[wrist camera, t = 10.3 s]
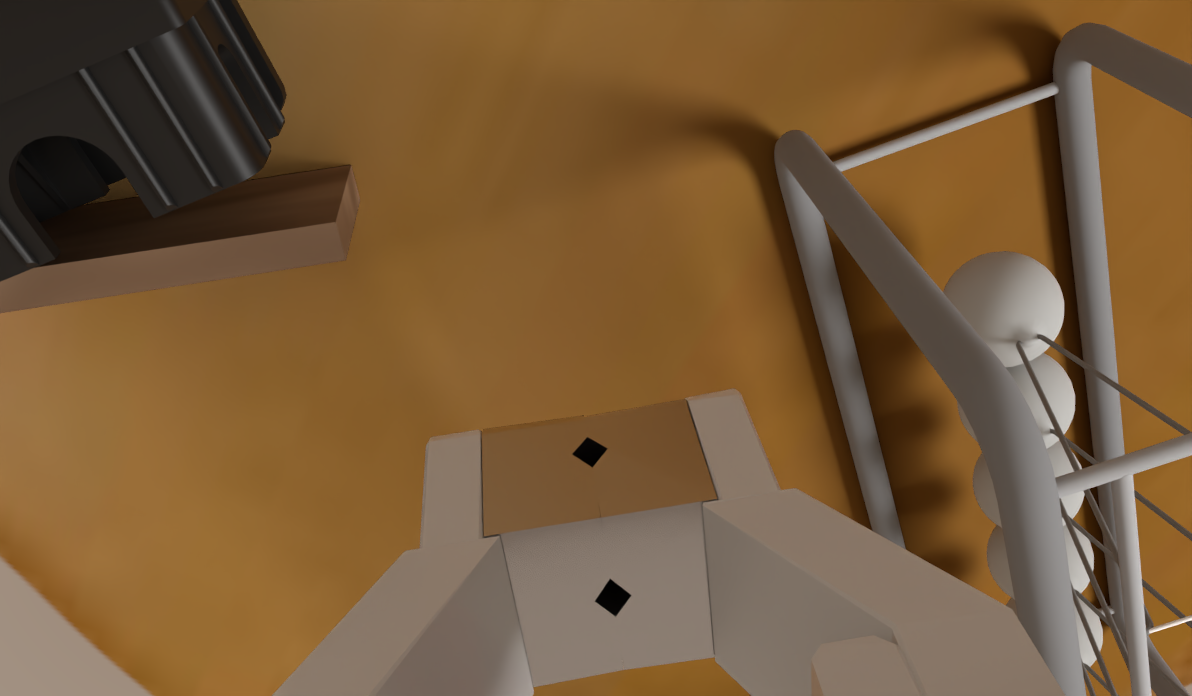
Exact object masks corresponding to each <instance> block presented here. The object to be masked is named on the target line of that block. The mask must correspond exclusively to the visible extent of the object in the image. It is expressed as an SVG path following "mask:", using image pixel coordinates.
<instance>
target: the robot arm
mask: <svg viewBox="0 0 1192 696" xmlns="http://www.w3.org/2000/svg"><path fill="white" fill-rule="evenodd" d="M713 657H715V661H716V662H717V663H718V664H719V665H720V666H721V667H722V668H723V669H724V670H725V671H726V672H727V673H728V674H729V675H730V676H731V677H732V678H733V679H735V680H736V681H737V682H738V683H739V684H740V685H741V686H742V687H743V688H744V689H745V690H746V691H747V692H748V693H749V694H750V695H751V696H1065V694H1064V693H1063V691H1062V689H1061V688H1060V686H1059V684H1058V683H1057V681H1056V680H1055V678H1054V676H1053V675H1052V673H1051V671H1050V670H1049V668H1048V667H1047V665H1046V663H1045V662H1044V660H1043V658H1042V657H1041V655H1040V654H1039V652H1038V650H1037V649H1036V647H1035V645H1034V644H1033V642H1032V641H1031V639H1030V637H1029V636H1028V634H1027V632H1026V631H1025V629H1024V628H1023V626H1022V624H1021V623H1020V621H1019V619H1018V618H1017V616H1016V615H1015V613H1014V611H1013V610H1012V609H1011V608H1009V607H1007V606H1005V605H1004V604H1002V603H1000V602H998V601H996V600H995V599H993V598H991V597H989V596H988V595H986V594H984V593H982V592H980V591H979V590H977V589H975V588H973V587H971V586H970V585H968V584H966V583H964V582H963V581H961V580H959V579H957V578H955V577H954V576H952V575H950V574H948V573H946V572H945V571H943V570H941V569H939V568H938V567H936V566H934V565H932V564H930V563H929V562H927V561H925V560H923V559H921V558H920V557H918V556H916V555H914V554H913V553H911V552H909V551H907V550H905V549H904V548H902V547H900V546H898V545H896V544H895V543H893V542H891V541H889V540H888V539H886V538H884V537H882V536H880V535H879V534H877V533H875V532H873V531H871V530H870V529H868V528H866V527H864V526H863V525H861V524H859V523H857V522H855V521H854V520H852V519H850V518H848V517H847V516H845V515H843V514H841V513H839V512H838V511H836V510H834V509H832V508H830V507H829V506H827V505H825V504H823V503H822V502H820V501H818V500H816V499H814V498H813V497H811V496H809V495H807V494H805V493H804V492H802V491H800V490H798V489H796V488H794V489H787V490H780V487H779V485H778V482H777V480H776V478H775V475H774V473H773V470H772V468H771V466H770V463H769V461H768V458H767V456H766V454H765V451H764V449H763V446H762V444H761V441H760V439H759V437H758V434H757V432H756V429H755V427H754V425H753V422H752V420H751V417H750V415H749V413H748V410H747V408H746V405H745V403H744V401H743V398H742V396H741V393H740V392H738V391H737V390H735V389H729V390H724V391H719V392H714V393H708V394H703V395H698V396H693V397H687V398H685V399H682V400H677V401H671V402H665V403H659V404H654V405H648V406H642V407H636V408H631V409H625V410H619V411H613V412H608V413H602V414H596V415H590V416H584V415H582V416H575V417H568V418H560V419H553V420H546V421H538V422H531V423H524V424H517V425H509V426H502V427H495V428H487V429H483V431H480V430H473V431H467V432H460V433H454V434H448V435H442V436H435V437H431V438H430V440H429V441H428V443H427V445H426V455H425V471H424V488H423V504H422V520H421V537H420V549H414V550H408V551H405V552H403V553H402V554H401V556H400V557H399V558H398V559H397V560H396V561H395V562H394V563H393V564H392V565H391V566H390V568H389V569H388V570H387V571H386V572H385V573H384V574H383V575H382V576H381V577H380V578H379V580H378V581H377V582H376V583H375V584H374V585H373V586H372V587H371V588H370V589H369V590H368V592H367V593H366V594H365V595H364V596H363V597H362V598H361V599H360V600H359V601H358V602H357V603H356V605H355V606H354V607H353V608H352V609H351V610H350V611H349V612H348V613H347V614H346V615H345V617H344V618H343V619H342V620H341V621H340V622H339V623H338V624H337V625H336V626H335V627H334V629H333V630H332V631H331V632H330V633H329V634H328V635H327V636H326V637H325V638H324V639H323V641H322V642H321V643H320V644H319V645H318V646H317V647H316V648H315V649H314V650H313V651H312V653H311V654H310V655H309V656H308V657H307V658H306V659H305V660H304V661H303V662H302V663H301V665H300V666H299V667H298V668H297V669H296V670H295V671H294V672H293V673H292V674H291V675H290V677H289V678H288V679H287V680H286V681H285V682H284V683H283V684H282V685H281V686H280V687H279V689H278V690H277V691H276V692H275V693H274V694H273V695H272V696H532V695H533V694H534V690H533V687H537V686H542V685H548V684H553V683H558V682H563V681H568V680H573V679H579V678H584V677H589V676H594V675H599V674H604V673H610V672H615V671H620V670H626V669H633V668H641V667H648V666H655V665H662V664H670V663H677V662H684V661H691V660H699V659H706V658H713ZM623 666H624V669H623Z"/></svg>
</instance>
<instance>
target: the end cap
mask: <svg viewBox="0 0 1192 696" xmlns="http://www.w3.org/2000/svg"><path fill="white" fill-rule="evenodd" d="M286 96H287V95H286V92H285V88H284V85H283V83H282V81H281V79H280V78H279V76H278V74H277V72H276V70H275V69H274V67H273V65H272V63H271V61H270V59H269V58H268V56H267V54H266V52H265V50H264V49H263V47H262V45H261V43H260V41H259V40H258V38H257V36H256V34H255V32H254V30H253V29H252V27H251V25H250V23H249V21H248V20H247V18H246V16H245V14H244V12H243V11H242V9H241V7H240V5H239V3H238V1H237V0H0V282H1V281H3V280H6V279H8V278H11V277H13V276H15V275H18V274H20V273H23V272H25V271H28V270H30V269H32V268H35V267H37V266H40V265H42V264H45V263H47V262H49V261H52V260H54V259H56V258H57V256H58V255H59V254H60V253H61V251H60V250H59V248H58V247H57V245H56V244H55V243H54V241H53V240H52V239H51V237H50V236H49V235H48V233H47V232H46V231H45V229H44V228H43V226H42V225H41V224H40V222H43V221H45V220H47V219H50V218H52V217H55V216H57V215H59V214H62V213H64V212H67V211H69V210H71V209H74V208H76V207H79V206H81V205H83V204H86V203H88V202H91V201H93V200H95V199H98V198H100V197H103V196H105V195H106V194H107V193H108V192H109V190H110V189H109V187H108V186H107V185H110V184H112V183H114V182H117V181H119V180H122V179H124V178H126V177H127V179H128V180H129V182H130V183H131V185H132V186H133V188H134V189H135V191H136V192H137V194H138V195H139V197H140V198H141V200H142V201H143V203H144V204H145V206H146V207H147V209H148V210H149V212H150V213H151V215H152V216H153V218H156V217H158V216H161V215H163V214H166V213H168V212H170V211H173V210H175V209H178V208H180V207H183V206H185V205H187V204H190V203H192V202H195V201H197V200H200V199H202V198H204V197H207V196H209V195H212V194H214V193H216V192H219V191H221V190H224V189H226V188H229V187H231V186H233V185H236V184H238V183H240V182H243V181H245V180H246V179H248V178H250V177H252V176H253V175H255V174H256V173H258V172H259V171H260V170H261V169H262V168H263V167H264V165H265V163H266V161H267V159H268V156H269V154H270V152H271V150H270V149H271V144H270V142H269V141H268V139H270V138H273V137H275V136H278V135H279V133H280V131H281V129H282V127H283V125H284V123H285V120H284V116H283V115H282V113H281V111H280V110H282V108H283V106H284V103H285V99H286Z"/></svg>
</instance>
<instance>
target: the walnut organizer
mask: <svg viewBox="0 0 1192 696" xmlns="http://www.w3.org/2000/svg"><path fill="white" fill-rule="evenodd" d="M359 203H360V197H359V193H358V190H357V186H356V182H355V178H354V174H353V170H352V166H351V165H348V166H341V167H334V168H328V169H321V170H314V171H308V172H301V173H294V174H288V175H281V176H275V177H268V178H261V179H255V180H248V181H243V182H240V183H238V184H236V185H233V186H231V187H229V188H226V189H224V190H221V191H219V192H216V193H214V194H212V195H209V196H207V197H204V198H202V199H200V200H197V201H195V202H192V203H190V204H187V205H185V206H183V207H180V208H178V209H175V210H173V211H170V212H168V213H166V214H163V215H161V216H158V217H156V218H153V216H152V215H151V213H150V212H149V210H148V209H147V207H146V206H145V204H144V203H143V201H142V200H141V198H140V197H135V198H128V199H122V200H115V201H108V202H102V203H95V204H88V205H82V206H79V207H76V208H74V209H71V210H69V211H67V212H64V213H62V214H59V215H57V216H55V217H52V218H50V219H47V220H45V221H43V222H40V224H41V225H42V226H43V228H44V229H45V231H46V232H47V233H48V235H49V236H50V237H51V239H52V240H53V241H54V243H55V244H56V245H57V247H58V248H59V250H60V251H61V253H60V254H59V255H58V256H57V258H56V259H54V260H52V261H49V262H47V263H45V264H42V265H40V266H37V267H35V268H32V269H30V270H28V271H25V272H23V273H20V274H18V275H15V276H13V277H11V278H8V279H6V280H3V281H1V282H0V313H4V312H11V311H17V310H24V309H30V308H37V307H44V306H50V305H57V304H63V303H70V302H76V301H83V300H89V299H96V298H102V297H109V296H115V295H122V294H129V293H135V292H142V291H148V290H155V289H161V288H168V287H174V286H181V285H187V284H194V283H200V282H207V281H214V280H220V279H227V278H233V277H240V276H246V275H253V274H259V273H266V272H272V271H279V270H285V269H292V268H299V267H305V266H312V265H318V264H325V263H331V262H338V261H344V260H346V258H347V254H348V250H349V245H350V241H351V237H352V232H353V228H354V224H355V220H356V215H357V211H358V207H359Z"/></svg>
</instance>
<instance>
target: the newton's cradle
mask: <svg viewBox="0 0 1192 696" xmlns="http://www.w3.org/2000/svg"><path fill="white" fill-rule="evenodd" d="M1091 65H1093V66H1095V67H1097V68H1099V69H1101V70H1102V71H1104V72H1106V73H1108V74H1110V75H1112V76H1114V77H1116V78H1117V79H1119V80H1121V81H1123V82H1125V83H1127V84H1129V85H1131V86H1132V87H1134V88H1136V89H1138V90H1140V91H1142V92H1144V93H1146V94H1147V95H1149V96H1151V97H1153V98H1155V99H1157V100H1159V101H1161V102H1163V103H1164V104H1166V105H1168V106H1170V107H1172V108H1174V109H1176V110H1178V111H1179V112H1181V113H1183V114H1185V115H1187V116H1189V117H1191V118H1192V65H1191V64H1189V63H1186V62H1184V61H1182V60H1180V59H1178V58H1176V57H1173V56H1171V55H1169V54H1167V53H1165V52H1162V51H1160V50H1158V49H1156V48H1154V47H1152V46H1149V45H1147V44H1145V43H1143V42H1141V41H1138V40H1136V39H1134V38H1132V37H1130V36H1128V35H1125V34H1123V33H1121V32H1119V31H1117V30H1115V29H1112V28H1110V27H1108V26H1106V25H1100V24H1095V23H1084V24H1081V25H1079V26H1077V27H1076V28H1074V29H1072V30H1070V31H1069V32H1067V33H1066V34H1065V35H1064V37H1063V38H1062V40H1061V42H1060V44H1059V46H1058V47H1057V49H1056V52H1055V58H1054V64H1053V82H1052V83H1050V84H1047V85H1044V86H1041V87H1039V88H1036V89H1033V90H1030V91H1028V92H1025V93H1022V94H1019V95H1017V96H1014V97H1011V98H1008V99H1005V100H1003V101H1000V102H997V103H994V104H992V105H989V106H986V107H983V108H981V109H978V110H975V111H972V112H969V113H967V114H964V115H961V116H958V117H956V118H953V119H950V120H947V121H945V122H942V123H939V124H936V125H934V126H931V127H928V128H925V129H922V130H920V131H917V132H914V133H911V134H909V135H906V136H903V137H900V138H898V139H895V140H892V141H889V142H887V143H884V144H881V145H878V146H875V147H873V148H870V149H867V150H864V151H862V152H859V153H856V154H853V155H851V156H848V157H845V158H842V159H840V160H837V161H834V162H832V161H831V160H830V159H829V157H828V156H827V155H826V154H825V153H824V152H823V150H822V149H821V148H820V147H819V146H818V144H817V143H816V142H815V141H814V140H813V139H812V138H811V137H810V136H809V135H807V134H806V133H804V132H803V131H800V130H792V131H788V132H786V133H785V134H784V135H782V136H781V137H780V138H779V139H778V141H777V142H776V145H775V151H774V160H775V166H776V172H777V176H778V181H779V185H780V189H781V192H782V196H783V200H784V204H785V207H786V211H787V215H788V218H789V222H790V226H791V230H792V233H793V237H794V241H795V244H796V248H797V252H798V256H799V259H800V263H801V267H802V271H803V274H804V278H805V282H806V285H807V289H808V293H809V297H810V300H811V304H812V308H813V311H814V315H815V319H816V323H817V326H818V330H819V334H820V338H821V341H822V345H823V349H824V352H825V356H826V360H827V364H828V367H829V371H830V375H831V378H832V382H833V386H834V390H835V393H836V397H837V401H838V405H839V408H840V412H841V416H842V419H843V423H844V427H845V431H846V434H847V438H848V442H849V445H850V449H851V453H852V457H853V460H854V464H855V468H856V472H857V475H858V479H859V483H860V486H861V490H862V494H863V498H864V501H865V505H866V509H867V512H868V516H869V520H870V524H871V527H872V531H873V532H875V533H877V534H879V535H880V536H882V537H884V538H886V539H888V540H889V541H891V542H893V543H895V544H896V545H898V546H900V547H902V548H904V549H905V550H906V548H905V544H904V540H903V536H902V532H901V528H900V524H899V520H898V516H897V512H896V508H895V504H894V500H893V496H892V491H891V487H890V483H889V479H888V475H887V471H886V467H885V463H884V459H883V455H882V451H881V447H880V443H879V439H878V435H877V431H876V427H875V423H874V419H873V415H872V411H871V407H870V403H869V399H868V395H867V391H866V387H865V383H864V379H863V375H862V371H861V367H860V363H859V359H858V355H857V351H856V347H855V343H854V339H853V335H852V331H851V327H850V323H849V319H848V315H847V311H846V306H845V302H844V298H843V294H842V290H841V286H840V282H839V278H838V274H837V270H836V266H835V262H834V258H833V254H832V250H831V246H830V242H829V238H828V234H827V230H826V226H825V222H824V219H825V220H826V221H827V223H828V224H829V225H830V227H831V228H832V229H833V231H834V232H835V234H836V235H837V236H838V238H839V239H840V240H841V242H842V243H843V244H844V246H845V247H846V249H847V250H848V251H849V253H850V254H851V255H852V257H853V258H854V260H855V261H856V262H857V264H858V265H859V266H860V268H861V269H862V270H863V272H864V273H865V275H866V276H867V277H868V279H869V280H870V281H871V283H872V284H873V285H874V287H875V288H876V290H877V291H878V292H879V294H880V295H881V296H882V298H883V299H884V300H885V302H886V303H887V305H888V306H889V307H890V309H891V310H892V311H893V313H894V314H895V315H896V317H897V318H898V320H899V321H900V322H901V324H902V325H903V326H904V328H905V329H906V330H907V332H908V333H909V335H910V336H911V337H912V339H913V340H914V341H915V343H916V344H917V346H918V347H919V348H920V350H921V351H922V352H923V354H924V355H925V356H926V358H927V359H928V361H929V362H930V363H931V365H932V366H933V367H934V369H935V370H936V371H937V373H938V374H939V376H940V377H941V378H942V380H943V381H944V382H945V384H946V385H947V386H948V388H949V389H950V391H951V392H952V393H953V395H954V396H955V398H956V400H957V403H958V411H959V415H960V418H961V421H962V423H963V425H964V426H965V428H966V430H967V431H968V433H969V434H970V435H971V436H972V437H973V438H974V439H975V440H976V441H977V442H978V443H979V446H980V448H981V450H982V454H981V455H980V457H979V458H978V460H977V463H976V465H975V469H974V474H973V488H974V494H975V497H976V500H977V502H978V504H979V506H980V508H981V509H982V510H983V512H984V513H985V514H986V516H987V517H988V518H989V519H990V520H991V521H993V522H994V523H995V524H997V525H996V527H995V528H994V530H993V532H992V534H991V536H990V538H989V541H988V546H987V561H988V566H989V569H990V572H991V574H992V576H993V578H994V580H995V581H996V583H997V584H998V585H999V587H1000V588H1001V589H1002V590H1003V591H1004V592H1005V593H1006V594H1008V595H1009V596H1010V597H1012V598H1011V599H1010V600H1009V601H1008V603H1007V605H1006V606H1007V607H1009V608H1011V609H1012V610H1013V611H1014V613H1015V615H1016V616H1017V618H1018V619H1019V621H1020V623H1021V624H1022V626H1023V628H1024V629H1025V631H1026V632H1027V634H1028V636H1029V637H1030V639H1031V641H1032V642H1033V644H1034V645H1035V647H1036V649H1037V650H1038V652H1039V654H1040V655H1041V657H1042V658H1043V660H1044V662H1045V663H1046V665H1047V667H1048V668H1049V670H1050V671H1051V673H1052V675H1053V676H1054V678H1055V680H1056V681H1057V683H1058V684H1059V686H1060V688H1061V689H1062V691H1063V693H1064V694H1065V696H1086V691H1085V684H1084V680H1085V682H1086V685H1087V687H1088V690H1089V693H1090V695H1091V696H1096V695H1095V692H1094V689H1093V687H1092V684H1091V682H1090V679H1089V676H1088V674H1087V671H1086V670H1088V671H1089V672H1090V673H1091V674H1092V675H1093V676H1094V677H1095V678H1096V679H1097V680H1098V681H1099V682H1100V683H1101V684H1102V685H1103V686H1104V687H1105V688H1106V689H1107V690H1108V691H1109V692H1110V693H1111V696H1119V695H1117V693H1116V690H1115V688H1114V685H1113V683H1112V681H1111V678H1110V676H1109V673H1108V671H1107V668H1106V666H1105V663H1104V661H1103V659H1102V656H1101V654H1100V650H1101V647H1102V643H1103V630H1102V626H1101V622H1100V619H1099V618H1101V619H1102V620H1103V621H1104V622H1105V623H1106V624H1107V625H1108V626H1109V627H1110V628H1111V630H1112V633H1113V635H1114V637H1115V640H1116V642H1117V644H1118V647H1119V649H1120V651H1121V654H1122V656H1123V658H1124V661H1125V663H1126V665H1127V668H1128V670H1129V672H1130V679H1131V689H1132V696H1151V688H1152V689H1153V691H1154V692H1155V694H1156V695H1157V696H1190V695H1189V693H1188V692H1187V690H1186V689H1185V688H1184V686H1183V685H1182V684H1181V682H1180V681H1179V680H1178V678H1177V677H1176V676H1175V674H1174V673H1173V672H1172V670H1171V669H1170V668H1169V666H1168V665H1167V664H1166V662H1165V661H1164V660H1163V658H1162V657H1161V656H1160V654H1159V653H1158V651H1157V650H1156V648H1155V647H1154V645H1153V643H1152V642H1151V640H1150V638H1149V636H1148V635H1149V634H1150V633H1152V632H1156V631H1159V630H1162V629H1165V628H1168V627H1171V626H1175V625H1178V624H1181V623H1184V622H1185V623H1186V624H1187V625H1188V626H1190V627H1191V628H1192V621H1191V620H1192V615H1191V616H1188V617H1186V616H1185V615H1184V614H1183V613H1181V612H1180V611H1179V610H1178V609H1177V608H1176V607H1174V606H1173V605H1172V604H1171V603H1170V602H1169V601H1167V600H1166V599H1165V598H1164V597H1163V596H1162V595H1160V594H1159V593H1158V592H1157V591H1156V590H1155V589H1153V588H1152V587H1151V586H1150V585H1149V584H1148V583H1146V582H1145V581H1144V580H1143V579H1142V577H1141V566H1140V554H1139V542H1138V530H1137V518H1136V507H1135V497H1136V498H1137V499H1138V500H1140V501H1141V502H1142V503H1143V504H1145V505H1146V506H1147V507H1149V508H1150V509H1151V510H1152V511H1154V512H1155V513H1156V514H1158V515H1159V516H1160V517H1162V518H1163V519H1164V520H1165V521H1167V522H1168V523H1169V524H1171V525H1172V526H1173V527H1174V528H1176V529H1177V530H1178V531H1180V532H1181V533H1182V534H1184V535H1185V536H1186V537H1187V538H1189V539H1190V540H1191V541H1192V533H1190V532H1189V531H1188V530H1186V529H1185V528H1184V527H1182V526H1181V525H1180V524H1178V523H1177V522H1176V521H1175V520H1173V519H1172V518H1171V517H1169V516H1168V515H1167V514H1165V513H1164V512H1163V511H1161V510H1160V509H1159V508H1158V507H1156V506H1155V505H1154V504H1152V503H1151V502H1150V501H1148V500H1147V499H1146V498H1144V497H1143V496H1142V495H1141V494H1139V493H1138V492H1137V491H1135V490H1134V483H1133V474H1135V473H1138V472H1142V471H1145V470H1148V469H1151V468H1154V467H1157V466H1160V465H1163V464H1166V463H1169V462H1172V461H1175V460H1178V459H1181V458H1184V457H1187V456H1190V455H1192V432H1190V431H1189V430H1187V429H1186V428H1184V427H1183V426H1181V425H1180V424H1178V423H1177V422H1175V421H1174V420H1172V419H1171V418H1169V417H1168V416H1166V415H1165V414H1163V413H1161V412H1160V411H1158V410H1157V409H1155V408H1154V407H1152V406H1151V405H1149V404H1148V403H1146V402H1145V401H1143V400H1142V399H1140V398H1139V397H1137V396H1136V395H1134V394H1133V393H1131V392H1130V391H1128V390H1126V389H1125V388H1123V387H1122V386H1120V385H1119V384H1118V374H1117V363H1116V352H1115V340H1114V329H1113V318H1112V307H1111V295H1110V284H1109V273H1108V262H1107V250H1106V239H1105V228H1104V217H1103V205H1102V194H1101V183H1100V172H1099V160H1098V149H1097V138H1096V127H1095V115H1094V104H1093V93H1092V82H1091ZM1052 95H1054V96H1055V105H1056V114H1057V124H1058V133H1059V142H1060V151H1061V160H1062V169H1063V178H1064V188H1065V197H1066V206H1067V215H1068V224H1069V233H1070V242H1071V252H1072V261H1073V270H1074V279H1075V288H1076V297H1077V306H1078V316H1079V325H1080V334H1081V343H1082V352H1083V361H1082V360H1081V359H1079V358H1078V357H1076V356H1075V355H1073V354H1072V353H1070V352H1069V351H1067V350H1066V349H1064V348H1063V347H1061V346H1060V345H1058V344H1056V343H1055V342H1053V341H1054V340H1055V338H1056V337H1057V335H1058V334H1059V331H1060V329H1061V327H1062V323H1063V319H1064V299H1063V295H1062V291H1061V288H1060V286H1059V284H1058V282H1057V280H1056V279H1055V277H1054V276H1053V275H1052V274H1051V272H1050V271H1049V270H1048V269H1047V268H1046V267H1045V266H1044V265H1042V264H1041V263H1039V262H1037V261H1036V260H1034V259H1033V258H1031V257H1028V256H1025V255H1022V254H1019V253H1015V252H1007V251H1003V252H992V253H987V254H983V255H980V256H978V257H975V258H973V259H971V260H970V261H968V262H966V263H965V264H963V265H962V266H961V267H960V268H959V269H958V270H957V271H956V272H955V273H954V274H953V275H952V276H951V278H950V279H949V281H948V283H947V284H946V286H945V289H944V292H942V291H941V290H940V288H939V287H938V286H937V285H936V284H935V283H934V281H933V280H932V279H931V278H930V277H929V275H928V274H927V273H926V272H925V271H924V270H923V268H922V267H921V266H920V265H919V264H918V263H917V261H916V260H915V259H914V258H913V257H912V255H911V254H910V253H909V252H908V251H907V250H906V248H905V247H904V246H903V245H902V244H901V242H900V241H899V240H898V239H897V238H896V237H895V235H894V234H893V233H892V232H891V231H890V229H889V228H888V227H887V226H886V225H885V224H884V222H883V221H882V220H881V219H880V218H879V216H878V215H877V214H876V213H875V212H874V211H873V209H872V208H871V207H870V206H869V205H868V203H867V202H866V201H865V200H864V199H863V198H862V196H861V195H860V194H859V193H858V192H857V191H856V189H855V188H854V187H853V186H852V185H851V183H850V182H849V181H848V180H847V179H846V178H845V176H844V175H843V174H842V173H841V171H844V170H847V169H850V168H852V167H855V166H858V165H861V164H864V163H866V162H869V161H872V160H875V159H877V158H880V157H883V156H886V155H889V154H891V153H894V152H897V151H900V150H902V149H905V148H908V147H911V146H913V145H916V144H919V143H922V142H925V141H927V140H930V139H933V138H936V137H938V136H941V135H944V134H947V133H950V132H952V131H955V130H958V129H961V128H963V127H966V126H969V125H972V124H974V123H977V122H980V121H983V120H986V119H988V118H991V117H994V116H997V115H999V114H1002V113H1005V112H1008V111H1011V110H1013V109H1016V108H1019V107H1022V106H1024V105H1027V104H1030V103H1033V102H1036V101H1038V100H1041V99H1044V98H1047V97H1049V96H1052ZM823 217H824V218H823ZM1049 346H1051V347H1053V348H1054V349H1056V350H1057V351H1059V352H1060V353H1062V354H1063V355H1065V356H1066V357H1068V358H1069V359H1071V360H1072V361H1074V362H1075V363H1077V364H1078V365H1080V366H1081V367H1083V368H1084V371H1085V380H1086V389H1087V398H1088V407H1089V416H1090V425H1091V435H1092V444H1093V453H1094V458H1092V457H1091V456H1090V455H1088V454H1087V453H1086V452H1084V451H1083V450H1082V449H1080V448H1079V447H1078V446H1077V445H1075V444H1074V443H1073V442H1071V441H1070V440H1069V439H1067V438H1066V437H1065V436H1064V434H1065V432H1066V431H1067V430H1068V428H1069V426H1070V423H1071V421H1072V419H1073V416H1074V412H1075V393H1074V389H1073V386H1072V383H1071V380H1070V378H1069V377H1068V375H1067V373H1066V372H1065V371H1064V369H1063V368H1062V367H1061V366H1060V365H1059V364H1058V363H1057V362H1056V361H1055V360H1054V359H1052V358H1051V357H1050V356H1048V355H1046V354H1044V353H1043V352H1044V351H1046V350H1047V349H1048V348H1049ZM1119 392H1121V393H1122V394H1124V395H1125V396H1127V397H1128V398H1130V399H1131V400H1133V401H1134V402H1136V403H1137V404H1139V405H1140V406H1142V407H1143V408H1145V409H1146V410H1148V411H1149V412H1151V413H1152V414H1154V415H1155V416H1157V417H1158V418H1160V419H1161V420H1163V421H1164V422H1166V423H1167V424H1169V425H1170V426H1172V427H1173V428H1175V429H1176V430H1178V431H1179V432H1181V433H1182V434H1184V435H1183V436H1180V437H1177V438H1174V439H1171V440H1168V441H1165V442H1162V443H1159V444H1156V445H1153V446H1150V447H1147V448H1144V449H1141V450H1138V451H1135V452H1132V453H1129V454H1126V455H1125V453H1124V442H1123V430H1122V419H1121V408H1120V397H1119ZM1059 440H1060V441H1059ZM1069 446H1070V447H1071V448H1072V449H1073V450H1075V451H1076V452H1077V453H1079V454H1080V455H1081V456H1083V457H1084V458H1085V459H1086V460H1088V461H1089V462H1090V463H1092V464H1093V465H1092V466H1089V467H1086V468H1083V469H1082V467H1081V465H1080V463H1079V461H1078V460H1077V458H1076V457H1075V455H1074V453H1073V452H1072V451H1071V449H1070V447H1069ZM1096 486H1097V489H1098V499H1099V508H1100V510H1099V508H1098V506H1097V504H1096V502H1095V499H1094V497H1093V495H1092V493H1091V491H1090V488H1093V487H1096ZM1084 495H1085V496H1086V498H1087V500H1088V502H1089V504H1090V506H1091V509H1092V511H1093V513H1094V515H1095V517H1096V519H1097V521H1098V524H1099V526H1100V528H1101V530H1102V535H1103V544H1104V546H1103V545H1102V544H1101V543H1100V542H1099V541H1098V540H1096V539H1095V538H1094V537H1093V536H1092V535H1091V534H1089V533H1088V532H1087V531H1086V530H1085V529H1084V528H1082V527H1081V526H1080V525H1079V524H1078V523H1077V522H1075V521H1074V520H1073V518H1074V516H1075V515H1076V514H1077V512H1078V511H1079V509H1080V507H1081V504H1082V502H1083V499H1084ZM1089 540H1090V541H1091V542H1093V543H1094V544H1095V545H1096V546H1097V547H1098V548H1100V549H1101V550H1102V551H1103V552H1104V553H1105V563H1106V572H1107V581H1108V590H1109V599H1110V605H1109V606H1107V603H1106V601H1105V599H1104V596H1103V594H1102V592H1101V590H1100V587H1099V585H1098V583H1097V580H1096V578H1095V576H1094V574H1093V569H1094V554H1093V550H1092V547H1091V543H1090V541H1089ZM1089 581H1091V584H1092V586H1093V588H1094V591H1095V593H1096V595H1097V598H1098V600H1099V602H1100V605H1101V607H1102V608H1099V609H1097V608H1096V607H1095V606H1093V605H1092V604H1091V603H1090V602H1089V601H1088V600H1087V599H1086V598H1085V597H1084V596H1083V595H1082V594H1081V593H1082V592H1083V591H1084V589H1085V588H1086V587H1087V585H1088V583H1089ZM1142 586H1143V587H1145V588H1146V589H1147V590H1148V591H1149V592H1150V593H1152V594H1153V595H1154V596H1155V597H1156V598H1157V599H1158V600H1160V601H1161V602H1162V603H1163V604H1164V605H1165V606H1167V607H1168V608H1169V609H1170V610H1171V611H1172V612H1173V613H1175V614H1176V615H1177V616H1178V617H1179V618H1180V619H1178V620H1175V621H1172V622H1169V623H1165V624H1162V625H1159V626H1156V627H1153V622H1152V620H1151V617H1150V615H1149V613H1148V611H1147V609H1146V607H1145V605H1144V601H1143V589H1142ZM1111 614H1112V615H1111ZM1105 616H1106V617H1105ZM1145 624H1146V625H1145ZM1096 659H1097V661H1098V663H1099V666H1100V668H1101V671H1102V673H1103V676H1104V678H1105V681H1106V683H1107V684H1106V683H1105V682H1104V681H1103V680H1102V679H1101V678H1100V677H1099V676H1098V675H1097V674H1096V673H1095V672H1094V671H1093V670H1092V669H1091V668H1090V666H1091V665H1092V664H1093V663H1094V662H1095V661H1096Z"/></svg>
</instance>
